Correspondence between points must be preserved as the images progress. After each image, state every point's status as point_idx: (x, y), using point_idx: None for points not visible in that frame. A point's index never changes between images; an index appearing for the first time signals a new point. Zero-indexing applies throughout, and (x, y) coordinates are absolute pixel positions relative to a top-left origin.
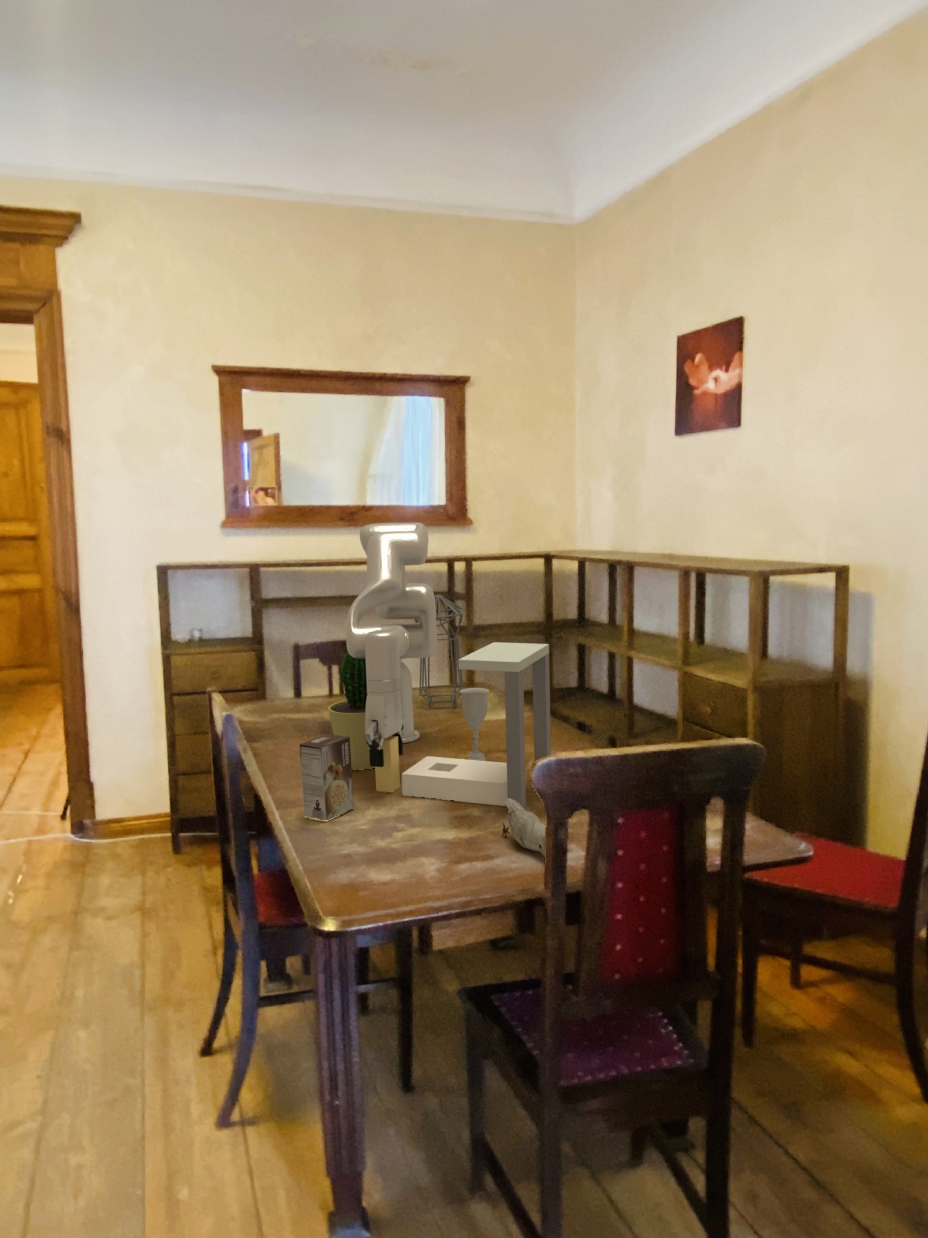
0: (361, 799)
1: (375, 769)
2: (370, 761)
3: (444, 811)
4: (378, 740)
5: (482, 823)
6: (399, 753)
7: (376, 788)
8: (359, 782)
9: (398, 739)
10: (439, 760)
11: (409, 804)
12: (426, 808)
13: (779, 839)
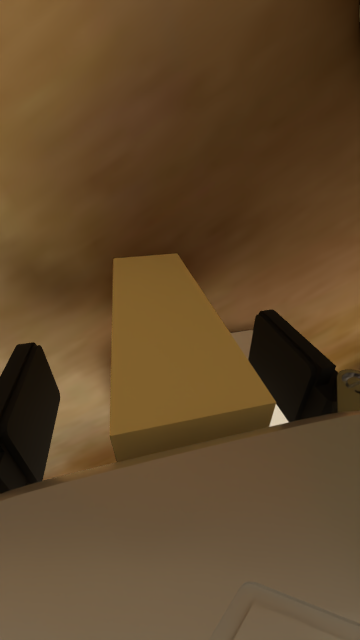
0: (5, 254)
1: (113, 295)
2: (10, 363)
3: (66, 459)
4: (116, 459)
5: None
6: (252, 360)
7: (113, 263)
8: (188, 119)
9: (293, 415)
10: (276, 411)
11: (61, 395)
12: (60, 431)
13: None
